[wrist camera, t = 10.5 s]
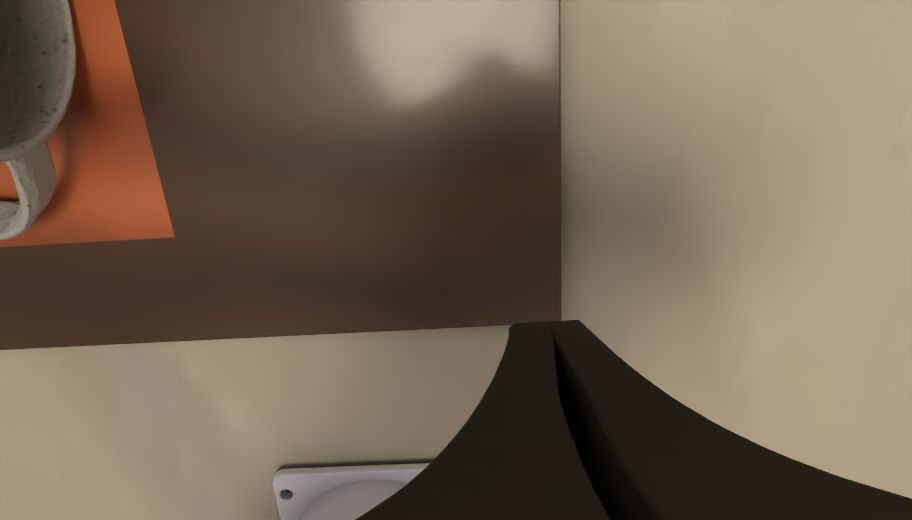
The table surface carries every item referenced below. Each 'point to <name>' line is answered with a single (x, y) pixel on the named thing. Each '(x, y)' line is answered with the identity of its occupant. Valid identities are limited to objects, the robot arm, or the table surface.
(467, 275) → the walnut board
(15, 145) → the ceramic mug
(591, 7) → the table surface
